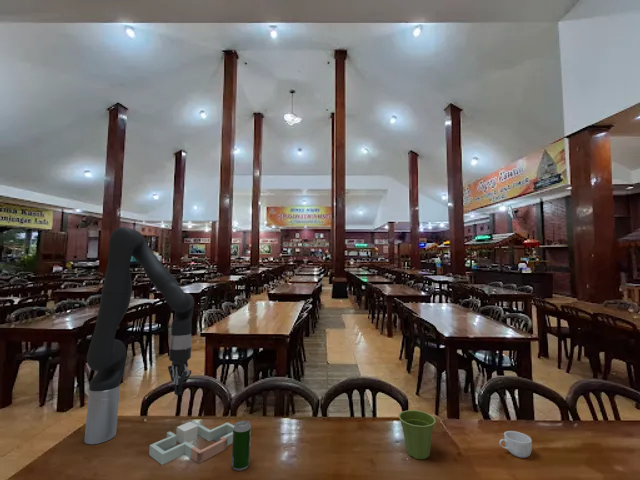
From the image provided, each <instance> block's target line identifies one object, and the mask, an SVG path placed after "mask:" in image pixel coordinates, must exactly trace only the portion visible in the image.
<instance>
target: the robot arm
mask: <svg viewBox="0 0 640 480" xmlns="http://www.w3.org/2000/svg"><path fill="white" fill-rule="evenodd" d="M107 254H108V256H107V267H106V270H105V271H106V272H105V275H104V282H103V285H102V289H101V295H100V302H99V307H98V312H97V317H96V322H95V327H94V331H93V335H92V338H91V340H90V344H89V346H88V351H87V355H86V362H87V365H88V368H89V369H91V370H92V371H95V372H97V373H96V374H95V375H94V377H93V378H92V379H90V382H89V388H88V399H87V400H88V401H87V409H86V417H85V418H86V420H85V432H84V439H83V442H84V443H85V444H86V445H98V444H101V443H105V442H107V441H108V442H109V440H111V439H113V438H114V437H115V436H116V435H117V427H118V419H119V418H118V414H119V403H120V402H119V401H120V393H121V392H120V391H121V381H122V378H123V377H124V373H125V366H126V357H127V348H126V345H125V343H124V342H123V341H122V340H120V339H117V338H116V333H117V330H118V328H119V326H120V324H121V322H122V320H123V318H124V316H125V314H126V313H127V311H128V309H129V306H130V303H131V299H132V298H131V297H132V294H133V293H132V292H133V283H132V282H133V281H132V275H131V270H130V269H131V261H132V258H133V259H135V260H136V261H137V262H138V263H139V265H140V266H141V267H142V269H143V271H144V272H145V274H146V276H147V278H148V280H149V281H150V282H151V283H152V284H153V286H154V287H155V288H156V289H157V291H159V293H161V295H162V296H163V298H164V299H165V301H166V303H167V304H168V306H169V307H170V308H171V309H172V310H173V311H174V318H173V320H172V322H171V330H170V332H171V333H170V340H169V355H168V359H169V361H170V362H171V365H169V366H167V370H168V373H169V376H170V381H171V382H173V384H174V395H176V396H180V395H182V394H183V384H186V383H187V382H188V380H189V378H190V376H191V374H192V370H191V369H190V370H189V369H188V368H189V363H188V361H189V360H190V359H191V357H192V341H193V340H192V339H193V338H192V327H193V325H192V324H193V323H192V319H193V315H194V309H195V308H194V307H195V299H194V296H193V295H192V294H191V293H189V292H184V290H183V289H182V288H181V287H180V285H179V282H178V280H177V279H176V278H175V277H174V275H172V273H171V272H170V271H169V270H168V269H167V268H166V267H165V266H164V264H163V263H162V262H161V261H160V260H159V259H158V257H157V256H156V254H155V253H154V252H153V250H152V249H151V247H150V246H149V245H148V243H147V241H146V239H145V238H144V235H142V233H141V232H140V231H138V230H136V229H133V228H130V227H126V226H120V227H118V228H116V229H114V231H112V233H111V234H110V236H109V243H108V253H107ZM115 338H116V339H115Z"/></svg>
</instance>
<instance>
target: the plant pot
mask: <svg viewBox="0 0 640 480" xmlns="http://www.w3.org/2000/svg"><path fill="white" fill-rule="evenodd" d="M398 418H399V420H400V425H401V427H402V433H403V437H404V443H405V448H406V454H408V455H409V456H410V457H413V458H414V459H417V460H426V459H428V458H429V457H430V455H431V447H432V444H431V443H432V436H433V431H434V425H435V424H436V421H437V420H436V418H435V417H434V416H433V415H431V414H430V413H428V412H424V411H423V410H415V409H414V410H413V409H410V410H404V411H401V412H400V413H398Z"/></svg>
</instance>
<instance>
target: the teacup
mask: <svg viewBox="0 0 640 480" xmlns="http://www.w3.org/2000/svg"><path fill="white" fill-rule="evenodd" d="M503 436H504V437H503V438H502V439H499V441H498V442H499V446H500V447H502V448H503V449H505V450H508V452H509V453H510V454H512V455H513V456H515V457H516V458H522V459H525V458H528V457H529V456H530V455H531V453H532V449H533V448H532V445H533V441H532V440H533V439H532V438H531V437H530V436H529V435H527V434H525V433H522V432H519V431H515V430H507V431H504V433H503ZM502 442H504V445H505V446H504V445H502Z"/></svg>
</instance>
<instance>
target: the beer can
mask: <svg viewBox="0 0 640 480" xmlns="http://www.w3.org/2000/svg"><path fill="white" fill-rule="evenodd" d="M233 425H234V428H233V443H232V445H231V446H232V447H231V448H232V449H231V451H232V452H231V467H232V469H233V471H238V472H239V471H241V472H242V471H244V470H246V469H248V467H249V465H250V462H251V434H252V426H251V422H250V421H249V420H239V421H236V422H235V423H234V424H233Z"/></svg>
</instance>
